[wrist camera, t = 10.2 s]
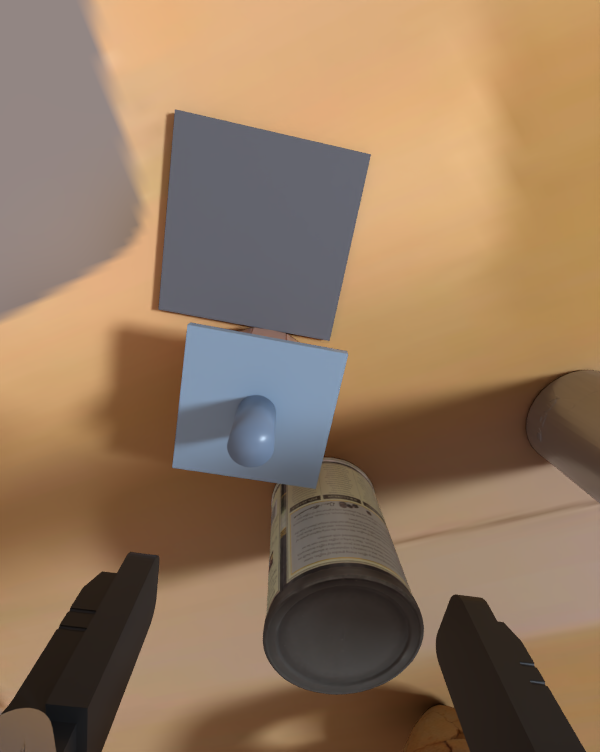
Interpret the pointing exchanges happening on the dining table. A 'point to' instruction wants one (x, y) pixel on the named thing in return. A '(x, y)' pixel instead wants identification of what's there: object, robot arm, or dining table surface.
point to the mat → (258, 226)
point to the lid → (255, 406)
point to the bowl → (437, 732)
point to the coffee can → (336, 587)
